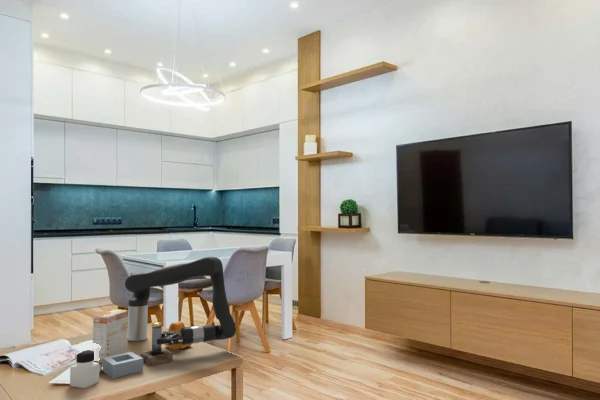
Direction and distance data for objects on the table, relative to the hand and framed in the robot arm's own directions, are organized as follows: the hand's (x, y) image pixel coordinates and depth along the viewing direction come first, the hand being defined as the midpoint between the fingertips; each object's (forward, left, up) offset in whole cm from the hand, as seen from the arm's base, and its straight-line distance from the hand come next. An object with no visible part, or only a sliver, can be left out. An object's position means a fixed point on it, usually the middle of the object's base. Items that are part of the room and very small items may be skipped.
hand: (155, 339), depth 194 cm
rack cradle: (+3, -15, -9) cm, 18 cm away
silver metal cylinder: (0, +1, -9) cm, 9 cm away
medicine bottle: (+8, -31, -9) cm, 34 cm away
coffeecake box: (-18, -12, -9) cm, 24 cm away
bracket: (-12, +18, -9) cm, 23 cm away
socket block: (0, +1, -9) cm, 9 cm away
